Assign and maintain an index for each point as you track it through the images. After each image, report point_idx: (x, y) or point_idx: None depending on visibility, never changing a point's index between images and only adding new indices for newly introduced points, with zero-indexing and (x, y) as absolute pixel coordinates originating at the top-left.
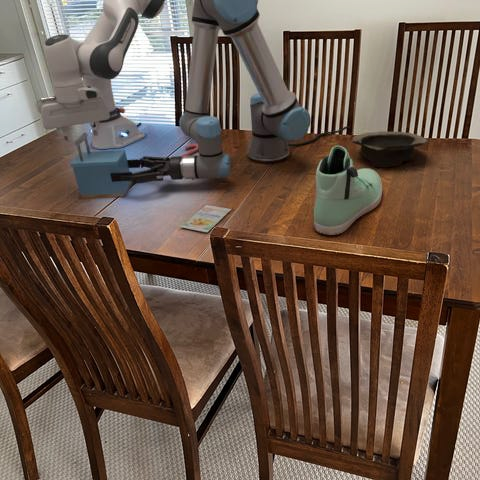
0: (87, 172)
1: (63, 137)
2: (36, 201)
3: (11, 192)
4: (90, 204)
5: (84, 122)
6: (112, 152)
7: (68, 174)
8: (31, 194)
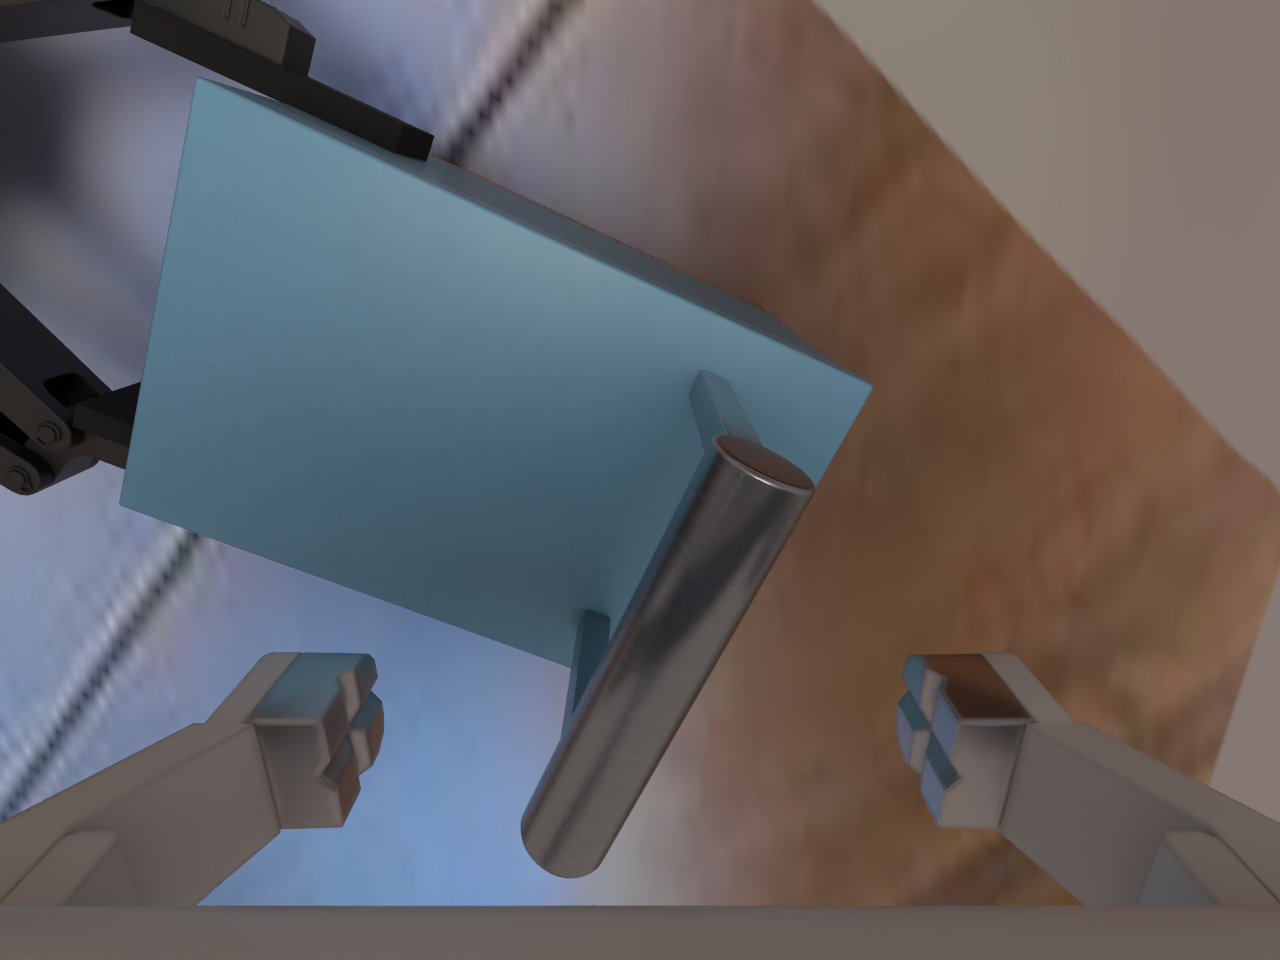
0: (670, 281)
1: (1038, 694)
2: (1089, 426)
3: (1200, 668)
4: (704, 125)
5: (374, 929)
6: (289, 499)
7: (785, 772)
8: (1089, 569)
